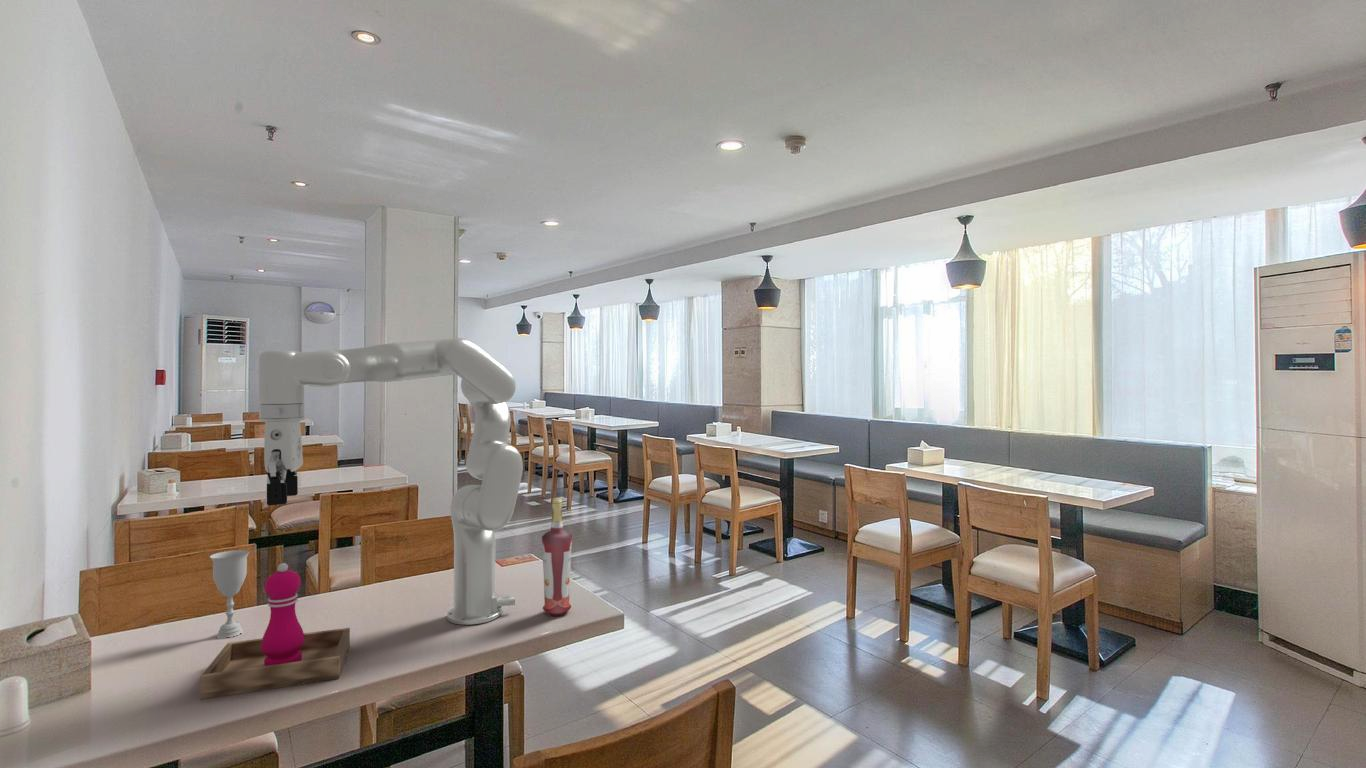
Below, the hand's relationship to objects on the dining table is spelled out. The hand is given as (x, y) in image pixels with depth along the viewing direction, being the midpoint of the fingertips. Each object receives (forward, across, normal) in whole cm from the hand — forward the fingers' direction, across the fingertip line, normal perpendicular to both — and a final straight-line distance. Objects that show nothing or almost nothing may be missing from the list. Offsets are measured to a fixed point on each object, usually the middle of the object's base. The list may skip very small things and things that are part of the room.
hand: (282, 499), depth 125 cm
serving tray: (+34, 0, 0) cm, 34 cm away
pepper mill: (+33, 0, 0) cm, 33 cm away
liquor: (+34, +12, -56) cm, 66 cm away
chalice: (+34, +25, +15) cm, 45 cm away
